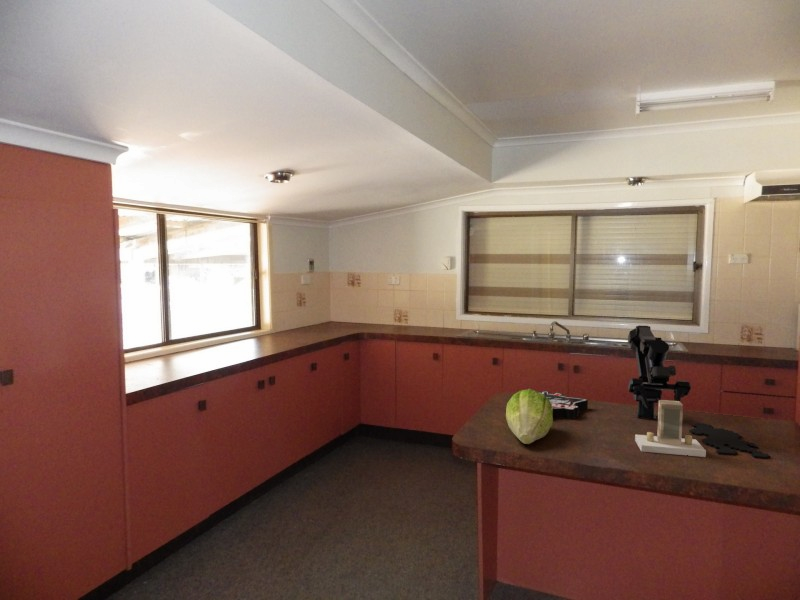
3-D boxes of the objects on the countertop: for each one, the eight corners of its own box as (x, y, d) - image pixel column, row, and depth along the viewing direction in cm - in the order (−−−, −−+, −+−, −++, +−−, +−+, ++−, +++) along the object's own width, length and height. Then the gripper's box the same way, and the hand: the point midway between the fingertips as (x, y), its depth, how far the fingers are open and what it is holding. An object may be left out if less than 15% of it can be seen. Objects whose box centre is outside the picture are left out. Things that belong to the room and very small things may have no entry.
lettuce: (552, 463, 159) (503, 462, 165) (556, 416, 180) (512, 416, 186) (545, 426, 154) (495, 426, 160) (550, 382, 174) (505, 383, 181)
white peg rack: (635, 440, 166) (635, 427, 165) (695, 445, 161) (696, 431, 160) (641, 451, 156) (641, 437, 156) (705, 457, 151) (706, 442, 151)
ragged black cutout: (771, 460, 149) (730, 427, 179) (771, 457, 149) (730, 425, 178) (712, 455, 153) (681, 424, 182) (712, 452, 153) (681, 422, 182)
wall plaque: (589, 396, 205) (579, 416, 179) (589, 406, 206) (578, 428, 179) (522, 388, 218) (502, 406, 192) (522, 397, 219) (502, 416, 192)
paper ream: (657, 439, 161) (658, 399, 160) (677, 440, 159) (679, 401, 158) (660, 443, 157) (661, 403, 156) (681, 445, 155) (683, 404, 154)
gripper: (630, 355, 172) (636, 395, 163) (690, 357, 167) (699, 398, 158) (625, 372, 180) (630, 411, 171) (682, 375, 176) (691, 415, 166)
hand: (662, 408), depth 166 cm, fingers open, 9 cm apart
